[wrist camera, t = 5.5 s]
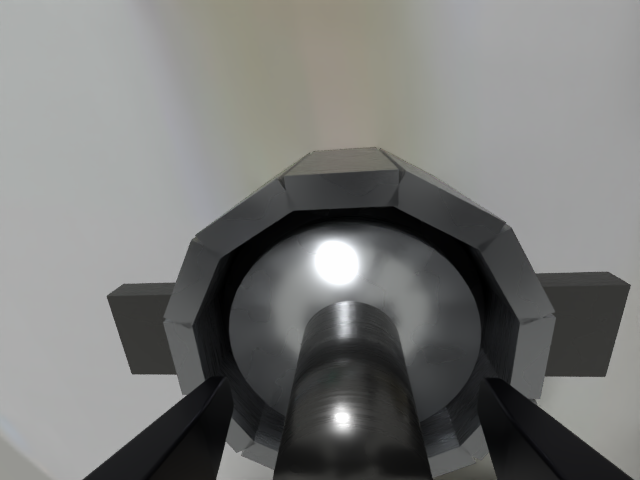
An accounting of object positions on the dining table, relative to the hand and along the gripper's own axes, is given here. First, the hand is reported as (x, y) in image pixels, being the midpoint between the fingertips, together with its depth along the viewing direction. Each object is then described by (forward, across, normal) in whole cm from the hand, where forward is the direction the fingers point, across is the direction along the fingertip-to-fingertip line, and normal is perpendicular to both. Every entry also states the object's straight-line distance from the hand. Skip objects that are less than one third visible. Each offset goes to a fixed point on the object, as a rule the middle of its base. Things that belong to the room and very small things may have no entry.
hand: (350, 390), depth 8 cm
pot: (+8, 0, 0) cm, 8 cm away
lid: (+3, 0, 0) cm, 3 cm away
